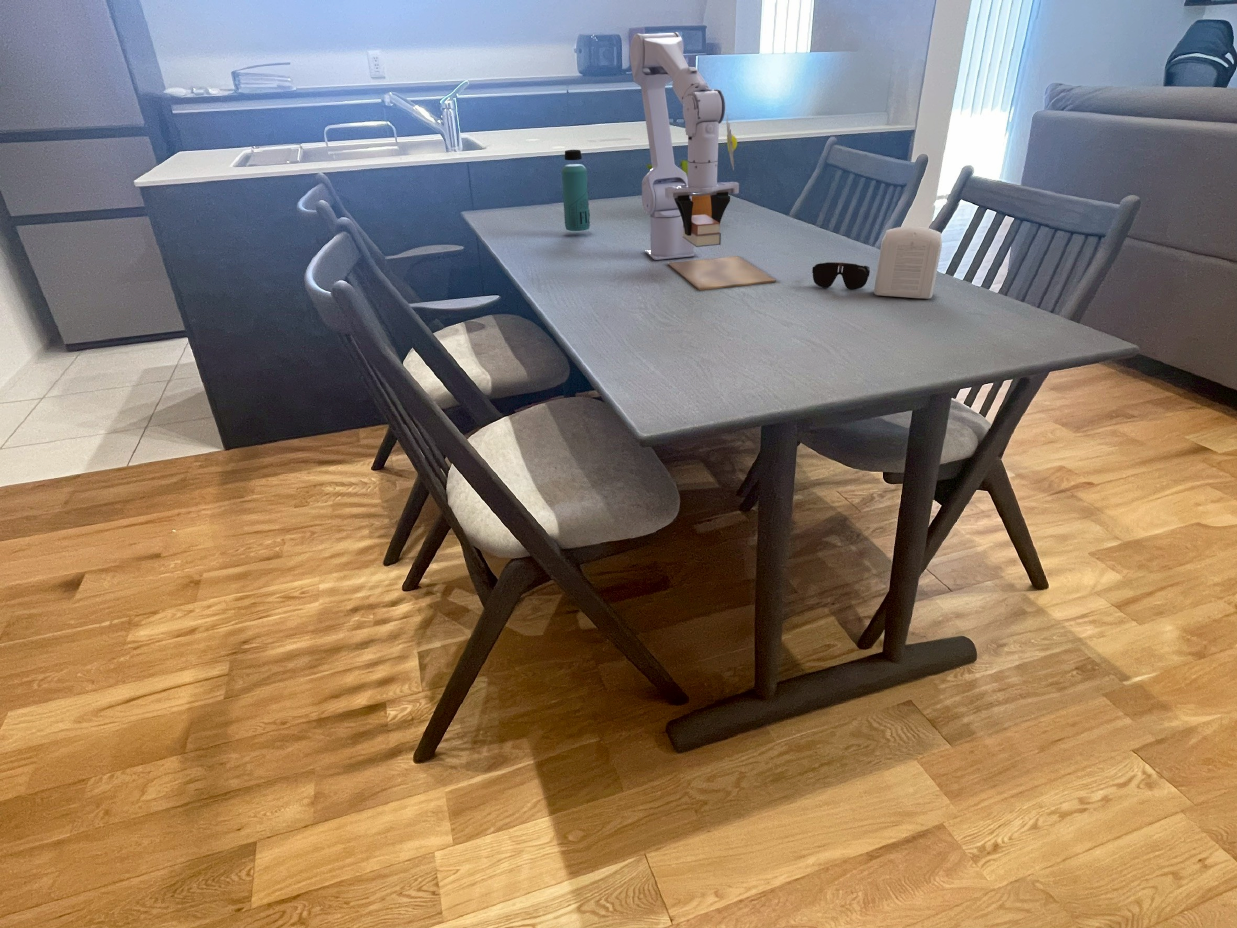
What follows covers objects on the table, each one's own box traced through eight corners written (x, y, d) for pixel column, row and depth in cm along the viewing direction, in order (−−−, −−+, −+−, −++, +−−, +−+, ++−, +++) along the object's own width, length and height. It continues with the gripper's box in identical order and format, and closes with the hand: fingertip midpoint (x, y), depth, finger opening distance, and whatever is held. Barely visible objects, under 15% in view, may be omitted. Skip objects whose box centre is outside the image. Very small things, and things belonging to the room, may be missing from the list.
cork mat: (737, 257, 164) (737, 256, 163) (775, 282, 147) (775, 280, 146) (668, 264, 160) (668, 262, 160) (699, 290, 144) (699, 288, 143)
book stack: (705, 235, 153) (706, 214, 151) (720, 244, 146) (721, 223, 144) (682, 237, 153) (682, 216, 150) (696, 247, 145) (696, 225, 143)
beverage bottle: (581, 238, 184) (576, 152, 175) (559, 235, 188) (553, 151, 178) (595, 232, 189) (591, 148, 179) (574, 230, 192) (569, 147, 182)
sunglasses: (809, 287, 142) (812, 261, 140) (816, 279, 152) (819, 254, 150) (866, 291, 139) (870, 264, 137) (869, 282, 149) (873, 256, 147)
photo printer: (931, 293, 137) (944, 225, 131) (933, 300, 133) (945, 230, 127) (873, 290, 140) (883, 223, 134) (873, 297, 136) (882, 228, 130)
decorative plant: (739, 223, 193) (744, 118, 181) (647, 226, 194) (645, 121, 181) (727, 203, 216) (731, 109, 204) (645, 206, 217) (644, 112, 205)
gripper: (672, 166, 137) (672, 241, 144) (746, 161, 140) (742, 234, 146) (661, 161, 143) (662, 233, 150) (732, 156, 146) (729, 227, 152)
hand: (701, 233), depth 149 cm, fingers closed on book stack, 5 cm apart
